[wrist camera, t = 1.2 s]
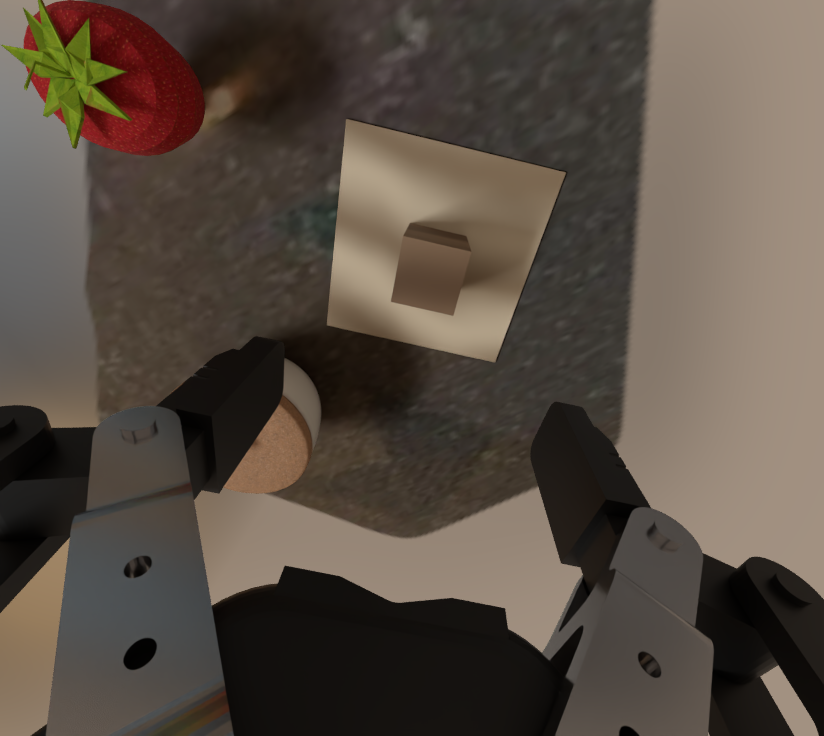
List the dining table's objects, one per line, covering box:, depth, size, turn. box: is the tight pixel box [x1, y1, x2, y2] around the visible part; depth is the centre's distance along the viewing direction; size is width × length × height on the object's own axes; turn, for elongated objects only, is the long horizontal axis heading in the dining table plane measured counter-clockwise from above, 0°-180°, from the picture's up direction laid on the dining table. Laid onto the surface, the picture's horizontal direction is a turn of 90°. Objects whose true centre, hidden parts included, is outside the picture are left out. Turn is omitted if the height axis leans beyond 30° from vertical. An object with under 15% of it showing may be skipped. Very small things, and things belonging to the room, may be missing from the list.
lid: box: [327, 119, 566, 362], centre depth 24 cm, size 14×14×6 cm
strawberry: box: [2, 0, 205, 156], centre depth 18 cm, size 6×8×10 cm
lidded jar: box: [171, 358, 321, 494], centre depth 29 cm, size 11×11×9 cm
